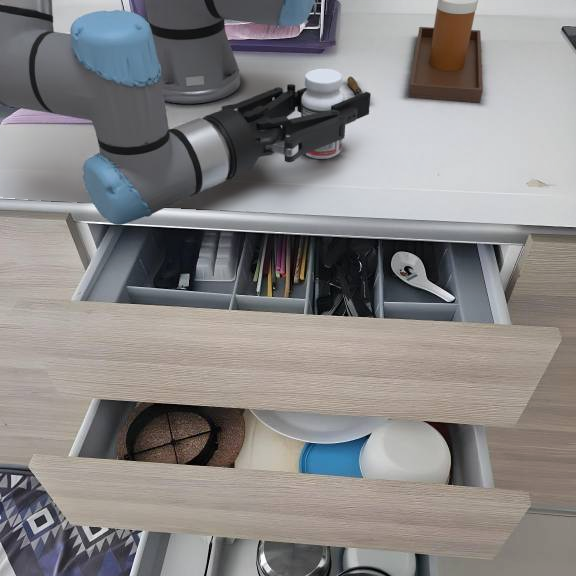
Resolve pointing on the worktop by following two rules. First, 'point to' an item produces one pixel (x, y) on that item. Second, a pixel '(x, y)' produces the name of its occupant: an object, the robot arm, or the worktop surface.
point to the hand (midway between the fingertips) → (350, 95)
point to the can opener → (354, 85)
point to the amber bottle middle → (452, 34)
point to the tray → (446, 72)
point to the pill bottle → (322, 103)
